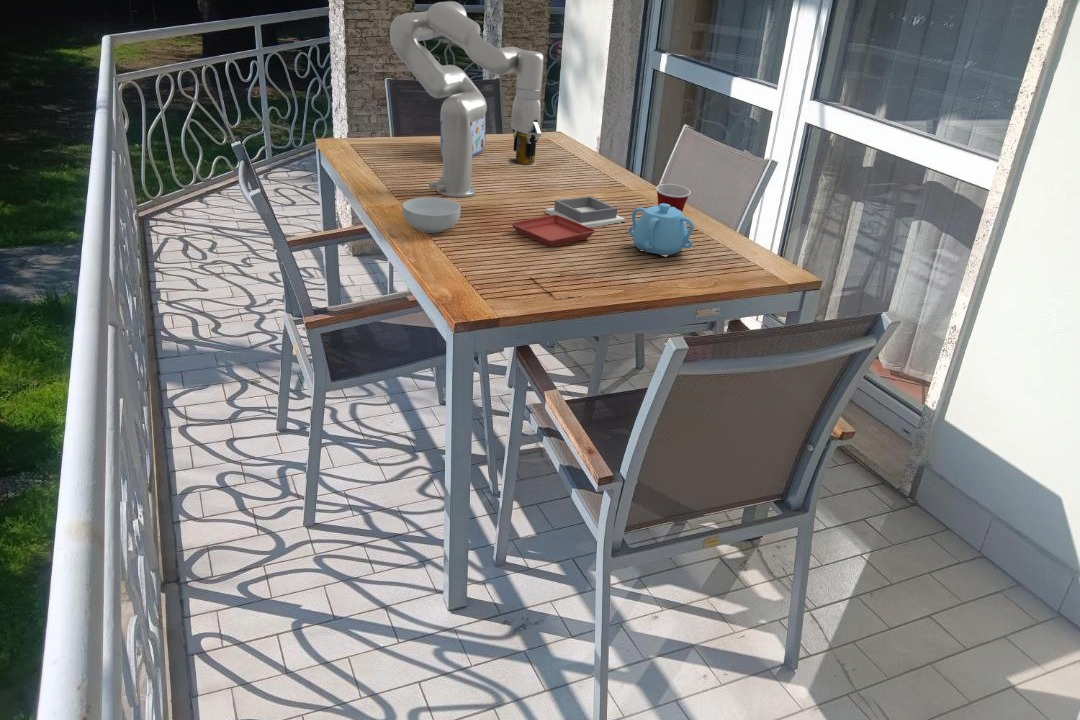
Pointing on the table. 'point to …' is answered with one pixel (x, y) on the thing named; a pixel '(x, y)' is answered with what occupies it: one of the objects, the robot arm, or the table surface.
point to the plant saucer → (553, 230)
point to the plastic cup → (672, 195)
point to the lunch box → (477, 135)
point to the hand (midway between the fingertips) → (524, 152)
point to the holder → (586, 211)
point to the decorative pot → (661, 230)
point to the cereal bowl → (431, 213)
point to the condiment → (522, 152)
